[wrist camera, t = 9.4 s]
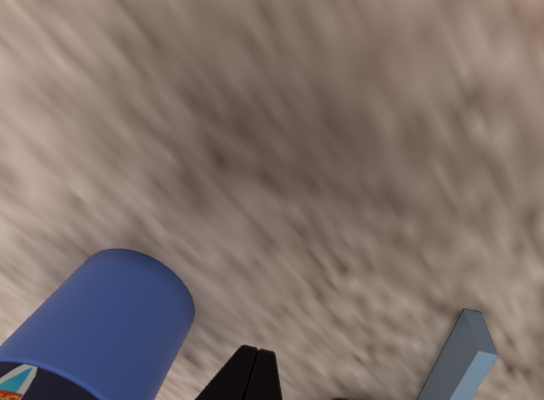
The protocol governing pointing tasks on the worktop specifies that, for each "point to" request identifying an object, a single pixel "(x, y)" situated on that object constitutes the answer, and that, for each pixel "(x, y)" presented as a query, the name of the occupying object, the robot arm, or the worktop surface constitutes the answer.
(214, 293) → the worktop surface
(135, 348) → the water bottle
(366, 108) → the worktop surface
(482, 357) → the slate-blue bay
